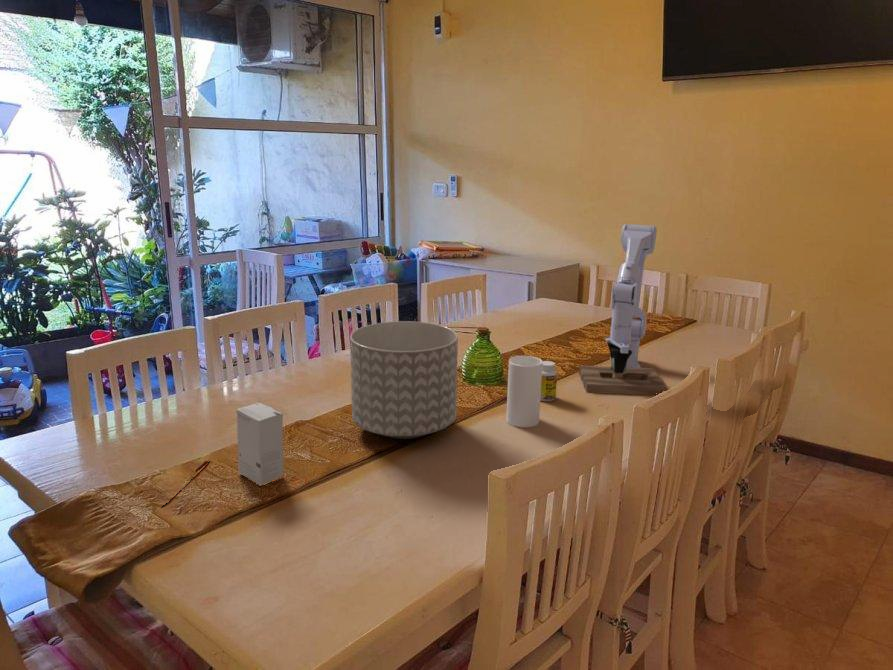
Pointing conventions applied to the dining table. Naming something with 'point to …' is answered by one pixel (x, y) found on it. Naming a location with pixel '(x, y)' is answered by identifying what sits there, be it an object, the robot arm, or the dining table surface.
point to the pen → (201, 466)
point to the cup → (524, 391)
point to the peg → (615, 375)
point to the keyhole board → (621, 380)
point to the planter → (404, 378)
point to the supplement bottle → (548, 381)
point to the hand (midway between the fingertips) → (617, 369)
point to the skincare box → (260, 443)
